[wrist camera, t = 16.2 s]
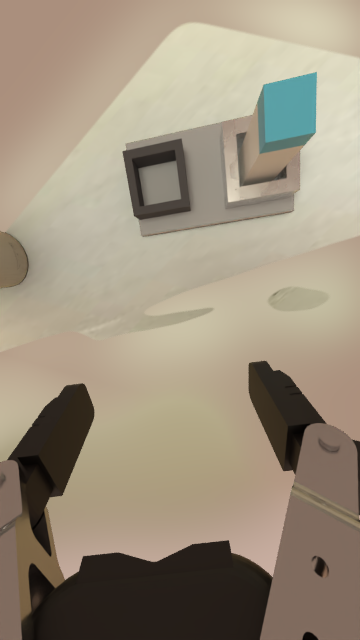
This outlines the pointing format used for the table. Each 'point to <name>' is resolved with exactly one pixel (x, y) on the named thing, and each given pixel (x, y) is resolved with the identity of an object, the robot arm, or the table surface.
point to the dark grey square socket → (148, 158)
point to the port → (234, 194)
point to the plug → (278, 128)
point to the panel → (196, 185)
